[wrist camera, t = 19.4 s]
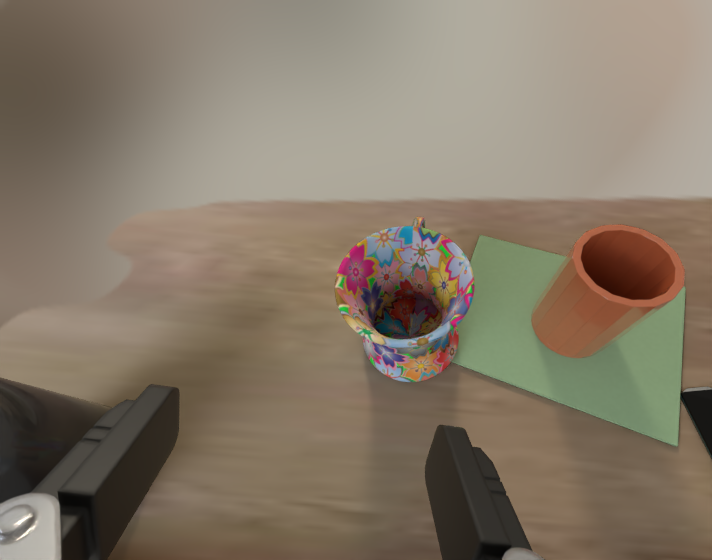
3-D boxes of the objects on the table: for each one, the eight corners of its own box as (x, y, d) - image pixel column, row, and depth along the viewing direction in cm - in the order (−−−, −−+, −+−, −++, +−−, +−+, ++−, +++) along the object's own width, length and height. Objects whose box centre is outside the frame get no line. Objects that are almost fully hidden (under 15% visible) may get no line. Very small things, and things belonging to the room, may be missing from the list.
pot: (523, 342, 31) (565, 287, 23) (538, 284, 34) (581, 215, 25) (603, 369, 29) (682, 320, 21) (613, 305, 32) (687, 238, 23)
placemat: (436, 356, 32) (436, 355, 32) (479, 236, 38) (480, 234, 37) (675, 446, 26) (678, 446, 26) (683, 288, 32) (685, 287, 32)
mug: (456, 400, 30) (467, 358, 21) (349, 377, 32) (317, 332, 23) (470, 276, 35) (483, 201, 26) (378, 265, 38) (361, 194, 29)
